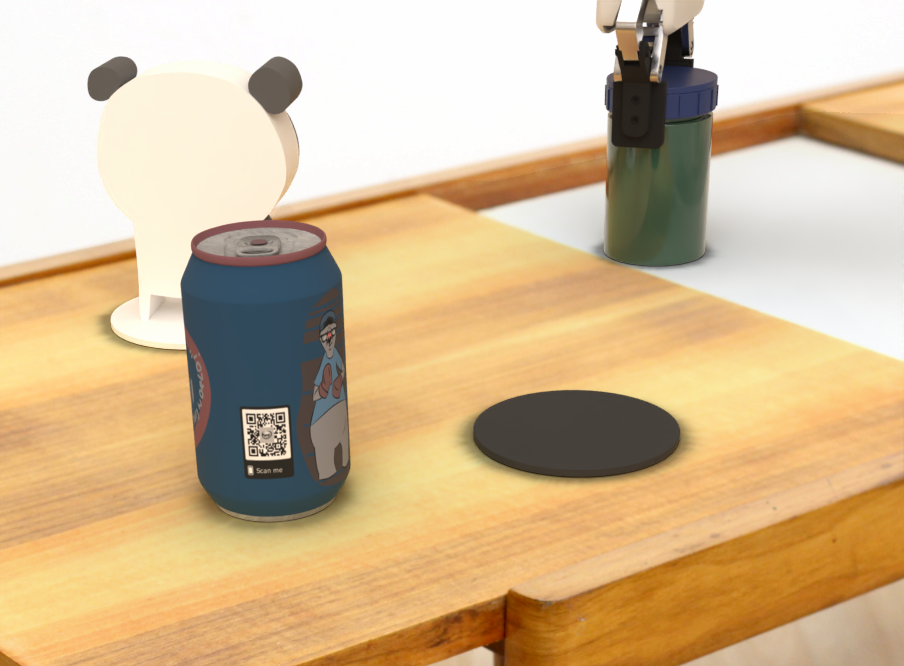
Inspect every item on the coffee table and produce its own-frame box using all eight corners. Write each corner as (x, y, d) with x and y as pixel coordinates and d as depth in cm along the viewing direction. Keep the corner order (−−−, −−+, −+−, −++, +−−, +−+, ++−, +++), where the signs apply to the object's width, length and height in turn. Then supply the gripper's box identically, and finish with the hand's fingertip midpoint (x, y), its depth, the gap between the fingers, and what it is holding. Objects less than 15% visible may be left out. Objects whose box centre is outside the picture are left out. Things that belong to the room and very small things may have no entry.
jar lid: (622, 93, 102) (623, 63, 101) (727, 98, 100) (729, 67, 99) (592, 116, 97) (592, 85, 96) (702, 122, 94) (704, 90, 93)
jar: (686, 232, 106) (695, 73, 101) (718, 261, 100) (729, 94, 95) (592, 240, 105) (596, 80, 100) (619, 269, 99) (625, 101, 94)
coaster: (646, 390, 81) (646, 382, 81) (707, 467, 72) (708, 459, 72) (456, 405, 80) (456, 398, 80) (495, 485, 71) (495, 477, 71)
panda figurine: (325, 290, 98) (314, 43, 91) (288, 352, 88) (272, 80, 81) (142, 287, 100) (117, 45, 93) (85, 347, 90) (53, 81, 83)
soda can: (207, 466, 74) (184, 218, 69) (352, 461, 74) (341, 212, 68) (192, 531, 68) (167, 264, 62) (351, 526, 68) (339, 258, 62)
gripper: (638, -179, 100) (627, 104, 108) (562, -163, 85) (556, 161, 93) (757, -182, 97) (736, 108, 105) (698, -166, 83) (680, 168, 91)
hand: (651, 131), depth 99 cm, fingers closed on jar lid, 6 cm apart
